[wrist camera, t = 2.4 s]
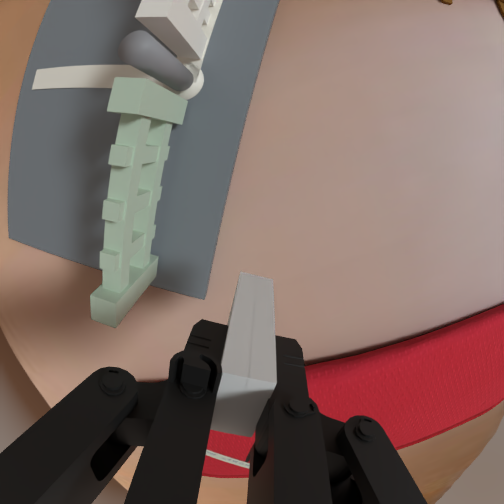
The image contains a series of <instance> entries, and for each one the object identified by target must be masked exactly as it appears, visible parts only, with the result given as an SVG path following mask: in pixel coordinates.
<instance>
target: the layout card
mask: <svg viewBox="0 0 504 504" xmlns="http://www.w3.org/2000/svg"><path fill="white" fill-rule="evenodd" d="M141 1H142V0H51V1H50V3H49V6H48V8H47V10H46V13H45V15H44V18H43V20H42V23H41V25H40V28H39V30H38V33H37V36H36V39H35V42H34V44H33V47H32V51H31V54H30V57H29V60H28V64H27V67H26V71H25V75H24V78H23V82H22V87H21V91H20V95H19V100H18V105H17V110H16V116H15V122H14V128H13V135H12V143H11V152H10V163H9V179H8V232H9V238H11V239H13V240H16V241H18V242H21V243H24V244H26V245H29V246H32V247H34V248H37V249H40V250H43V251H45V252H48V253H51V254H54V255H57V256H60V257H62V258H65V259H68V260H71V261H74V262H77V263H80V264H83V265H86V266H89V267H92V268H95V269H99V270H102V271H103V269H101V268H99V267H100V251H102V250H103V247H104V230H105V219H102V212H103V201H104V200H106V199H107V197H108V189H109V181H110V173H111V167H112V165H110V164H108V162H109V156H110V150H111V144H115V142H116V137H117V132H118V127H119V122H120V117H121V114H120V113H114V112H108V111H107V107H108V103H109V99H110V95H111V91H112V87H113V83H114V79H115V77H127V78H145V79H148V80H150V81H152V82H154V83H156V84H158V85H160V86H162V87H163V88H165V89H167V90H169V91H171V92H173V93H174V94H176V95H178V96H180V97H182V98H183V99H185V100H187V101H188V103H187V107H186V111H185V115H184V119H183V124H182V125H180V124H174V123H173V124H172V129H171V133H170V138H169V142H168V146H170V149H169V154H168V158H167V160H165V162H164V167H163V172H162V178H161V183H160V186H162V191H161V197H160V200H159V201H157V208H156V214H155V221H154V224H155V225H156V229H155V237H154V238H153V239H152V244H151V252H150V254H152V255H155V256H159V257H158V266H157V274H156V277H155V279H154V280H153V281H152V282H151V284H150V285H151V286H155V287H158V288H162V289H165V290H169V291H173V292H176V293H180V294H184V295H187V296H191V297H195V298H199V299H203V300H204V299H205V297H206V293H207V288H208V283H209V278H210V273H211V268H212V264H213V259H214V254H215V249H216V245H217V240H218V235H219V231H220V226H221V222H222V217H223V213H224V208H225V204H226V199H227V195H228V191H229V186H230V182H231V178H232V174H233V169H234V165H235V161H236V157H237V153H238V149H239V145H240V141H241V137H242V133H243V129H244V125H245V121H246V117H247V113H248V109H249V106H250V102H251V98H252V94H253V90H254V87H255V83H256V79H257V76H258V72H259V69H260V65H261V61H262V58H263V54H264V51H265V47H266V44H267V40H268V37H269V34H270V30H271V27H272V23H273V20H274V17H275V14H276V10H277V7H278V4H279V1H280V0H216V2H215V4H214V6H209V7H208V9H209V11H210V14H211V15H210V18H209V21H208V24H207V25H204V24H202V27H201V29H202V30H203V32H204V34H205V36H206V37H207V42H206V46H205V49H204V52H203V55H202V58H201V59H193V58H183V57H178V56H177V55H176V54H175V53H174V52H173V51H172V50H170V49H169V48H168V47H167V46H166V45H165V44H164V43H163V42H162V41H161V40H160V39H159V38H158V37H156V36H155V35H154V34H153V33H152V32H151V31H150V30H149V29H148V28H146V27H145V26H144V25H143V24H142V23H141V22H140V21H138V20H137V19H136V18H135V15H136V13H137V10H138V8H139V5H140V3H141ZM139 30H141V31H146V32H148V33H149V34H150V35H151V36H152V37H153V38H155V39H156V40H157V41H158V42H159V43H160V44H161V45H162V46H164V47H165V48H166V49H167V50H168V51H169V52H170V53H171V54H172V55H173V56H175V57H176V58H177V59H178V60H179V61H180V62H181V63H182V64H183V65H184V66H185V67H186V68H187V69H188V70H189V71H191V73H192V74H193V77H194V80H193V84H192V85H191V87H190V88H188V89H187V90H185V91H175V90H174V89H172V88H170V87H168V86H167V85H165V84H163V83H161V82H160V81H158V80H156V79H154V78H153V77H151V76H149V75H147V74H145V73H144V72H142V71H140V70H138V69H136V68H134V67H133V66H131V65H129V64H127V63H125V62H123V61H122V60H121V59H120V58H119V56H118V48H119V45H120V43H121V41H122V40H123V39H124V38H125V37H126V36H127V35H128V34H130V33H132V32H134V31H139Z"/></svg>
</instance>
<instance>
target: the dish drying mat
mask: <svg viewBox="0 0 504 504" xmlns="http://www.w3.org/2000/svg"><path fill="white" fill-rule="evenodd" d="M304 368H305V372H306V379H307V385H308V392H309V398H311V399H312V400H313V401H314V402H315V403H316V404H317V406H318V409H319V411H320V413H322V414H323V415H325V416H328V417H330V418H333V419H336V420H339V421H342V422H345V423H346V421H347V420H348V419H349V418H350V417H353V416H356V415H364V416H367V417H370V418H372V419H374V420H375V421H377V422H378V423H379V424H380V425H381V426H382V428H383V429H384V431H385V432H386V434H387V436H388V437H389V439H390V441H391V442H392V444H393V446H394V448H395V449H396V450H399V449H402V448H405V447H408V446H411V445H414V444H416V443H419V442H422V441H424V440H427V439H429V438H432V437H434V436H437V435H439V434H441V433H444V432H446V431H448V430H450V429H453V428H455V427H457V426H459V425H462V424H464V423H466V422H468V421H470V420H473V419H475V418H477V417H479V416H481V415H483V414H484V413H486V412H488V411H489V410H491V409H492V408H494V407H495V406H496V405H498V404H499V403H500V402H501V401H503V400H504V304H502V305H500V306H497V307H495V308H493V309H490V310H488V311H485V312H483V313H480V314H478V315H475V316H473V317H470V318H468V319H465V320H463V321H460V322H457V323H455V324H452V325H449V326H447V327H444V328H442V329H439V330H436V331H434V332H431V333H428V334H425V335H422V336H419V337H416V338H413V339H410V340H407V341H403V342H400V343H397V344H393V345H390V346H386V347H383V348H379V349H376V350H373V351H370V352H366V353H363V354H359V355H355V356H351V357H346V358H342V359H337V360H332V361H327V362H322V363H318V364H313V365H309V366H305V367H304ZM254 442H255V432H254V434H253V436H252V437H246V436H240V435H235V434H230V433H225V432H220V431H215V430H210V434H209V439H208V445H207V450H206V455H205V461H204V466H203V471H202V476H208V477H216V478H249V467H250V460H249V462H245V460H246V457H247V455H248V453H249V451H250V449H251V448H252V446H253V444H254Z"/></svg>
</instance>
